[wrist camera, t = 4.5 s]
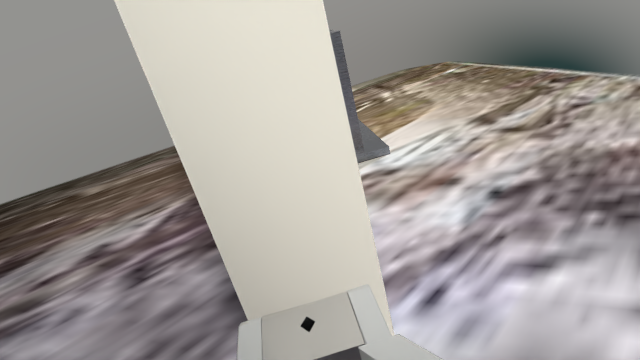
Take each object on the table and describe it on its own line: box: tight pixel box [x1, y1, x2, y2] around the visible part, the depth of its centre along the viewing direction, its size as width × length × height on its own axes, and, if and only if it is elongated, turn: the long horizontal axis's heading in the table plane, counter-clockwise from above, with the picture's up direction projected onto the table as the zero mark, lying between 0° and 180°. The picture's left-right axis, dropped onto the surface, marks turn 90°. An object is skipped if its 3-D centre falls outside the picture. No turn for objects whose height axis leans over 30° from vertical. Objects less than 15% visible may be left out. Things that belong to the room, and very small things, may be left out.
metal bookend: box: [329, 30, 390, 163], centre depth 33 cm, size 5×10×10 cm, turn 9°
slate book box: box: [114, 0, 394, 336], centre depth 19 cm, size 5×16×14 cm, turn 9°
